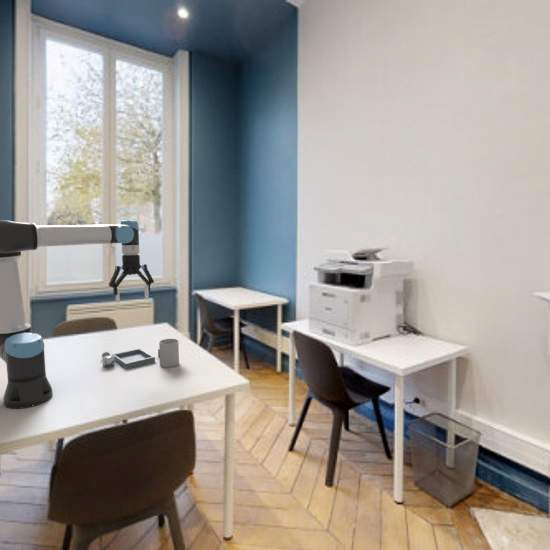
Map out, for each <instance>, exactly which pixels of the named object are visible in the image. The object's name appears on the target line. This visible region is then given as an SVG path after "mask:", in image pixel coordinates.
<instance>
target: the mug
mask: <svg viewBox="0 0 550 550" xmlns="http://www.w3.org/2000/svg"><path fill="white" fill-rule="evenodd" d="M158 344H159V345H158V346H159V347H158V349H159V350H160V358H159V367H161V368H164V369H168V368H169V369H170V368H174V367H177V366H179V365H180V351H179V350H180V349H179V348H180V347H179V340H178V339H176V338H165V339H162V340H159V343H158Z"/></svg>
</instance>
